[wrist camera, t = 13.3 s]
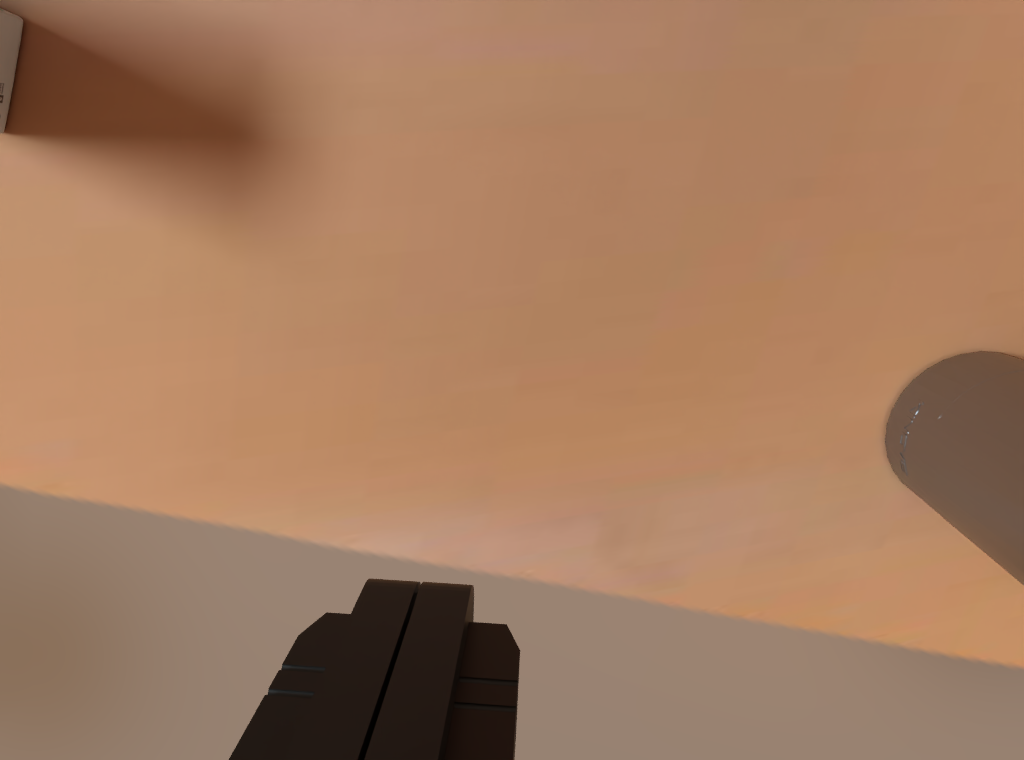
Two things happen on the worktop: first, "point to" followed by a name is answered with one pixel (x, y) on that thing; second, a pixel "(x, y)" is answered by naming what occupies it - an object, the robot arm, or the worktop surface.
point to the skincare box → (8, 59)
